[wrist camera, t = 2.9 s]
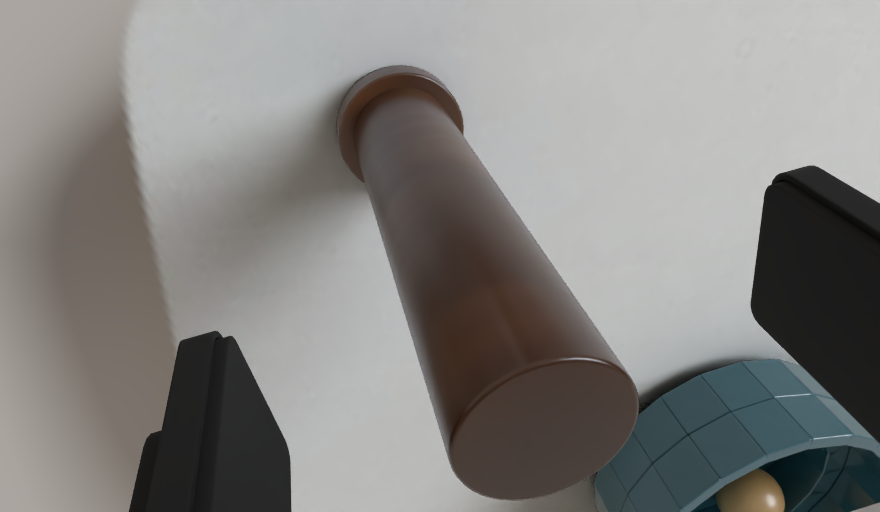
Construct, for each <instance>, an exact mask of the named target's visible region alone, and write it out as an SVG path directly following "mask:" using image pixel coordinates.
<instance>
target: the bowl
mask: <svg viewBox="0 0 880 512" xmlns="http://www.w3.org/2000/svg"><path fill="white" fill-rule="evenodd" d="M757 468H760V469H762V470H764V471H765V472H767V473H768V474H770V475H771V476H772V477H773V478H774V479H775V480H776V481H777V483H778V484H779V486H780V487H781V489H782V492H783V495H784V499H785V508H784V512H851V511H854V510H858V509H861V508H864V507H867V506H870V505H873V504H876V503H880V444H879V443H878V442H877V441H876V440H875V439H874V438H873V437H872V436H871V435H870V434H869V433H868V432H867V431H866V430H865V429H864V428H863V427H862V426H861V425H860V424H859V423H858V422H857V421H856V420H855V419H854V418H853V417H852V416H851V415H850V414H849V413H848V412H847V411H846V410H845V409H844V408H843V407H842V406H841V405H840V404H839V403H838V402H837V401H836V400H835V399H834V398H833V397H832V396H831V395H830V394H829V393H828V392H827V391H826V390H825V389H824V388H823V387H822V386H821V385H820V384H819V383H818V382H817V381H816V380H815V379H814V378H813V377H812V376H811V375H810V374H809V373H808V372H807V371H806V370H805V369H804V368H803V367H802V366H800V365H796V364H793V363H789V362H786V361H782V360H777V359H768V360H753V361H741V362H737V363H734V364H731V365H728V366H725V367H721V368H718V369H715V370H712V371H709V372H706V373H703V374H701V375H698V376H696V377H694V378H692V379H690V380H689V381H687V382H685V383H683V384H681V385H680V386H678V387H676V388H674V389H672V390H671V391H669V392H667V393H665V394H663V395H662V396H661V397H659V398H658V399H657V400H655V401H654V402H653V403H652V404H651V405H649V406H648V407H647V408H646V409H645V410H643V411H642V412H641V413H640V414H639V415H638V417H637V421H636V424H635V427H634V429H633V431H632V433H631V435H630V437H629V439H628V440H627V442H626V443H625V445H624V446H623V447H622V449H621V450H620V451H619V452H618V453H617V454H616V455H615V457H614V458H613V459H612V460H610V461H609V462H608V463H607V464H606V465H605V466H604V467H602V468H601V469H600V470H599V471H598V472H597V475H596V477H595V480H594V489H595V503H596V508H597V510H598V512H720V510H719V508H718V505H717V502H716V496H715V493H716V492H717V491H719V490H720V489H721V488H722V487H724V486H725V485H727V484H729V483H730V482H732V481H734V480H736V479H738V478H740V477H742V476H744V475H745V474H747V473H749V472H751V471H753V470H755V469H757Z"/></svg>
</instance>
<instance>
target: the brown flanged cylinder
mask: <svg viewBox="0 0 880 512" xmlns="http://www.w3.org/2000/svg"><path fill="white" fill-rule="evenodd" d="M463 130H464V126H463V118H462V114H461V111H460V108H459V106H458V103H457V102H456V100H455V98H454V97H453V96H452V94H451V93H450V92H449V90H448V89H447V88H446V86H445V85H444V84H443V83H442V82H441V81H440V80H439V79H438V78H436V77H435V76H434V75H432V74H430V73H429V72H427V71H425V70H422V69H419V68H416V67H411V66H403V65H399V66H389V67H384V68H381V69H378V70H375V71H373V72H371V73H369V74H367V75H366V76H364V77H363V78H361V79H360V80H359V81H358V82H357V83H356V84H355V85H354V86H353V87H352V88H351V89H350V90H349V92H348V93H347V95H346V96H345V98H344V100H343V102H342V104H341V106H340V109H339V112H338V117H337V137H338V142H339V146H340V150H341V153H342V156H343V159H344V161H345V162H346V164H347V166H348V167H349V169H350V170H351V171H352V173H353V174H354V175H355V176H356V177H357V178H358V179H360V180H361V181H362V182H364V183H365V184H366V187H367V190H368V194H369V197H370V200H371V204H372V207H373V210H374V214H375V217H376V220H377V224H378V227H379V230H380V234H381V237H382V240H383V243H384V247H385V250H386V253H387V257H388V260H389V263H390V267H391V270H392V273H393V277H394V280H395V283H396V287H397V290H398V293H399V297H400V300H401V303H402V306H403V310H404V313H405V316H406V320H407V323H408V326H409V330H410V333H411V336H412V340H413V343H414V346H415V350H416V353H417V356H418V359H419V363H420V366H421V369H422V373H423V376H424V379H425V383H426V386H427V389H428V393H429V396H430V399H431V403H432V406H433V409H434V413H435V416H436V419H437V422H438V426H439V429H440V432H441V436H442V439H443V442H444V446H445V449H446V452H447V456H448V459H449V462H450V465H451V467H452V470H453V472H454V473H455V475H456V476H457V478H458V479H459V480H460V481H461V482H462V483H463V484H464V485H465V486H467V487H468V488H469V489H471V490H472V491H474V492H476V493H478V494H480V495H483V496H486V497H489V498H494V499H499V500H527V499H534V498H539V497H544V496H547V495H551V494H554V493H557V492H560V491H563V490H565V489H567V488H570V487H572V486H574V485H576V484H578V483H580V482H582V481H583V480H585V479H587V478H588V477H590V476H591V475H593V474H594V473H596V472H597V471H599V470H600V469H601V468H602V467H604V466H605V465H606V464H607V463H608V462H609V461H610V460H612V459H613V458H614V457H615V455H616V454H617V453H618V452H619V451H620V450H621V449H622V447H623V446H624V445H625V443H626V442H627V440H628V439H629V437H630V435H631V433H632V431H633V429H634V427H635V424H636V421H637V417H638V410H639V401H638V393H637V389H636V386H635V384H634V382H633V380H632V378H631V377H630V376H629V374H628V373H627V371H626V370H625V368H624V367H623V365H622V364H621V363H620V361H619V360H618V358H617V357H616V355H615V354H614V352H613V351H612V350H611V348H610V347H609V345H608V344H607V342H606V341H605V339H604V338H603V337H602V335H601V334H600V332H599V331H598V329H597V328H596V327H595V325H594V324H593V322H592V321H591V319H590V318H589V316H588V315H587V314H586V312H585V311H584V309H583V308H582V306H581V305H580V303H579V302H578V301H577V299H576V298H575V296H574V295H573V293H572V292H571V291H570V289H569V288H568V286H567V285H566V283H565V282H564V280H563V279H562V278H561V276H560V275H559V273H558V272H557V270H556V269H555V267H554V266H553V265H552V263H551V262H550V260H549V259H548V257H547V256H546V254H545V253H544V252H543V250H542V249H541V247H540V246H539V244H538V243H537V242H536V240H535V239H534V237H533V236H532V234H531V233H530V231H529V230H528V229H527V227H526V226H525V224H524V223H523V221H522V220H521V218H520V217H519V216H518V214H517V213H516V211H515V210H514V208H513V207H512V206H511V204H510V203H509V201H508V200H507V198H506V197H505V195H504V194H503V193H502V191H501V190H500V188H499V187H498V185H497V184H496V182H495V181H494V180H493V178H492V177H491V175H490V174H489V172H488V171H487V169H486V168H485V167H484V165H483V164H482V162H481V161H480V159H479V158H478V157H477V155H476V154H475V152H474V151H473V149H472V148H471V146H470V145H469V144H468V142H467V141H466V139H465V138H464V136H463Z"/></svg>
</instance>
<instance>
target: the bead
mask: <svg viewBox="0 0 880 512" xmlns="http://www.w3.org/2000/svg"><path fill="white" fill-rule="evenodd" d="M715 496H716V502H717V505H718V508H719V510H720V512H784V508H785V499H784V495H783V492H782V489H781V487H780V486H779V484H778V483H777V481H776V480H775V479H774V478H773V477H772V476H771V475H770V474H768V473H767V472H765V471H764V470H762V469H760V468H757V469H755V470H753V471H751V472H749V473H747V474H745V475H744V476H742V477H740V478H738V479H736V480H734V481H732V482H730V483H729V484H727V485H725V486H724V487H722V488H721V489H720V490H719V491H717V492H716V493H715Z"/></svg>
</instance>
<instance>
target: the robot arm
mask: <svg viewBox="0 0 880 512" xmlns="http://www.w3.org/2000/svg"><path fill="white" fill-rule="evenodd" d="M751 310H752V313H753V316H754V318H755V320H756V321H757V322H758V324H759V325H760V326H761V327H762V328H763V329H764V330H765V331H766V332H767V333H768V334H769V335H770V336H771V337H772V338H773V339H774V340H775V341H776V342H777V343H778V344H779V345H780V346H781V347H782V348H784V349H785V350H786V351H787V352H788V353H789V354H790V355H791V356H792V357H793V358H794V359H795V360H796V361H797V362H798V363H799V364H800V365H801V366H802V367H803V368H804V369H805V370H806V371H807V372H808V373H809V374H810V375H811V376H812V377H813V378H814V379H815V380H816V381H817V382H818V383H819V384H820V385H821V386H822V387H823V388H824V389H825V390H826V391H827V392H828V393H829V394H830V395H831V396H832V397H833V398H834V399H835V400H836V401H837V402H838V403H839V404H840V405H841V406H842V407H843V408H844V409H845V410H846V411H847V412H848V413H849V414H850V415H851V416H852V417H853V418H854V419H855V420H856V421H857V422H858V423H859V424H860V425H861V426H862V427H863V428H864V429H865V430H866V431H867V432H868V433H869V434H870V435H871V436H872V437H873V438H874V439H875V440H876V441H877V442H878V443H879V444H880V203H878V202H876V201H875V200H873V199H871V198H870V197H868V196H866V195H864V194H863V193H861V192H859V191H858V190H856V189H854V188H853V187H851V186H849V185H848V184H846V183H844V182H842V181H841V180H839V179H837V178H836V177H834V176H832V175H831V174H829V173H827V172H826V171H824V170H822V169H820V168H819V167H816V166H806V167H802V168H799V169H795V170H791V171H788V172H784V173H781V174H779V175H777V176H776V177H775V178H774V179H773V181H772V185H770V186H768V187H767V189H766V191H765V195H764V203H763V211H762V219H761V227H760V234H759V242H758V250H757V258H756V265H755V273H754V281H753V289H752V297H751ZM129 512H291V471H290V455H289V450H288V447H287V443H286V441H285V439H284V437H283V435H282V433H281V431H280V429H279V427H278V425H277V423H276V421H275V419H274V417H273V415H272V413H271V410H270V408H269V406H268V404H267V402H266V400H265V398H264V396H263V394H262V392H261V390H260V388H259V386H258V384H257V382H256V380H255V378H254V376H253V374H252V372H251V370H250V368H249V366H248V364H247V362H246V360H245V358H244V356H243V354H242V352H241V350H240V348H239V346H238V344H237V342H236V340H235V339H234V338H233V336H228V337H225V338H223V337H222V335H221V334H220V333H219V332H218V331H213V332H209V333H206V334H202V335H199V336H195V337H191V338H188V339H184V340H182V341H181V342H180V344H179V346H178V351H177V356H176V361H175V366H174V372H173V376H172V381H171V386H170V391H169V396H168V402H167V407H166V411H165V417H164V421H163V426H162V431H158V432H155V433H151V434H150V435H149V436H148V438H147V439H146V442H145V444H144V447H143V452H142V456H141V460H140V465H139V469H138V474H137V478H136V482H135V487H134V491H133V496H132V500H131V505H130V509H129ZM851 512H880V503H876V504H873V505H870V506H867V507H864V508H861V509H858V510H854V511H851Z"/></svg>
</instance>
